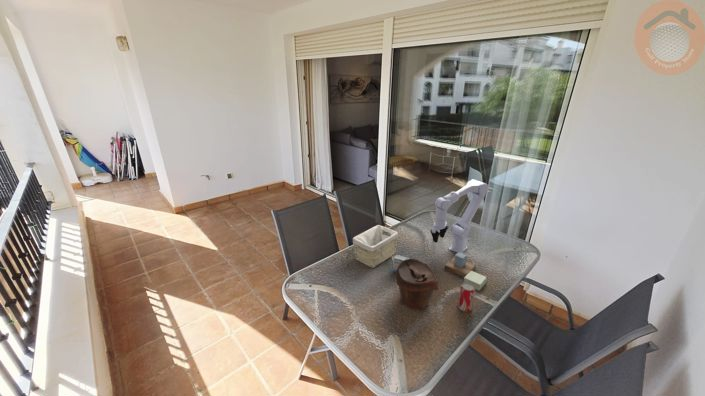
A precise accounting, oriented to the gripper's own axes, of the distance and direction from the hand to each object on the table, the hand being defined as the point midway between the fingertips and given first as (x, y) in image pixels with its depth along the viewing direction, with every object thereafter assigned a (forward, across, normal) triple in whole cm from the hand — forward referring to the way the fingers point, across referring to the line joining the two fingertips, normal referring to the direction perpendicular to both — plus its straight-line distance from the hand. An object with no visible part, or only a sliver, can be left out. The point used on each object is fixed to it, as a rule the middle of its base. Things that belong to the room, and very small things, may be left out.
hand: (438, 239), depth 164 cm
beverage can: (+11, +31, +31) cm, 45 cm away
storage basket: (+11, +26, -26) cm, 38 cm away
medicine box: (+11, +28, -6) cm, 30 cm away
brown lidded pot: (+11, +42, +12) cm, 45 cm away
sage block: (+11, +11, +27) cm, 31 cm away
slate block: (+8, +4, +16) cm, 18 cm away
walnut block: (+11, +4, +16) cm, 20 cm away
